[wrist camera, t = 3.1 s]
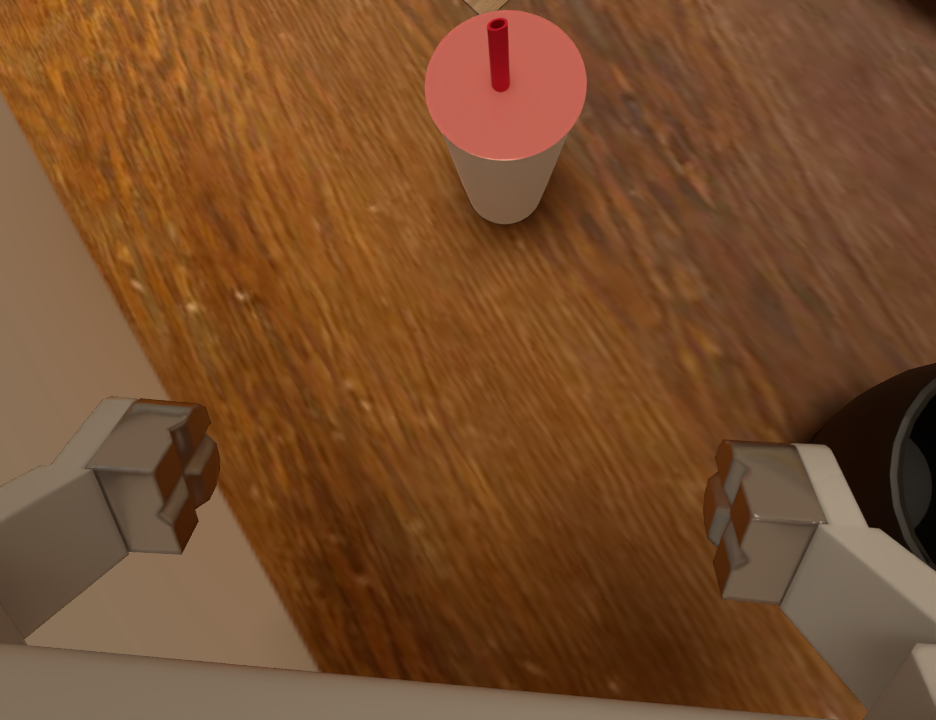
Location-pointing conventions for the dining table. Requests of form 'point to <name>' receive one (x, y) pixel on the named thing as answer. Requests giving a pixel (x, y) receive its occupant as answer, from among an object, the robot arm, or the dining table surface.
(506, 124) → the cup
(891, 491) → the mug
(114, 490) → the robot arm
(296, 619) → the dining table surface
